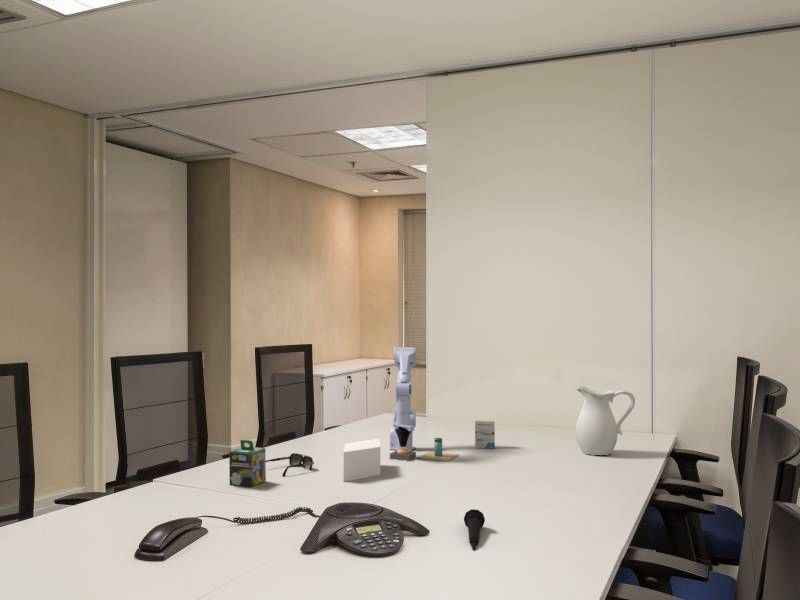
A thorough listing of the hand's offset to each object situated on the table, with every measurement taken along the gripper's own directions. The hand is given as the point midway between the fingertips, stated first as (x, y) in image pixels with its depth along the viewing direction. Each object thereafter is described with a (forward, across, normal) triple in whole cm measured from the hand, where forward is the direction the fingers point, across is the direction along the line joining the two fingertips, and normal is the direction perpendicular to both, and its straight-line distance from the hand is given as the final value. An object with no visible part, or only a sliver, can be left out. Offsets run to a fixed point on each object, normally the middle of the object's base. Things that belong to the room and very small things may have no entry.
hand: (403, 446), depth 273 cm
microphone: (+6, -93, +30) cm, 98 cm away
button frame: (+5, 0, 0) cm, 5 cm away
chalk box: (+5, -13, +67) cm, 69 cm away
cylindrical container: (+4, -4, -14) cm, 16 cm away
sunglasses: (+5, 0, +48) cm, 49 cm away
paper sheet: (+5, -4, -14) cm, 16 cm away
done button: (+3, 0, 0) cm, 3 cm away
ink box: (+5, +4, -43) cm, 44 cm away
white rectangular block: (+5, -16, +26) cm, 31 cm away
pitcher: (+5, -30, -81) cm, 86 cm away
